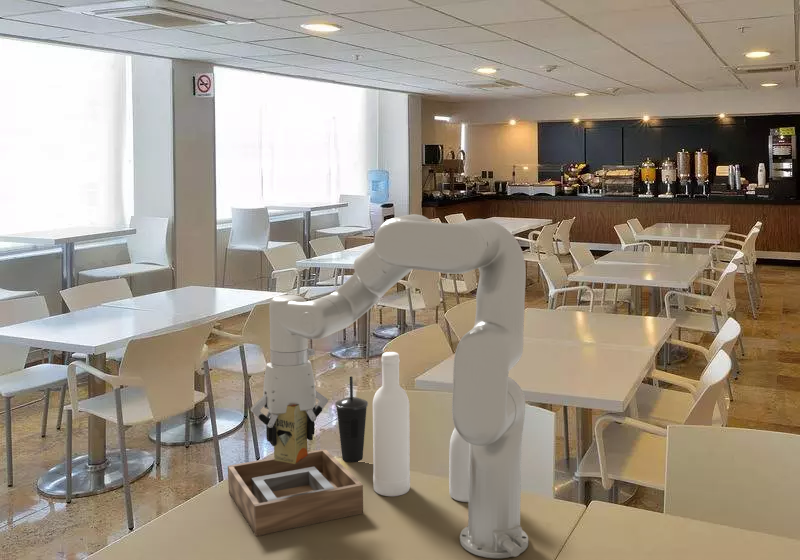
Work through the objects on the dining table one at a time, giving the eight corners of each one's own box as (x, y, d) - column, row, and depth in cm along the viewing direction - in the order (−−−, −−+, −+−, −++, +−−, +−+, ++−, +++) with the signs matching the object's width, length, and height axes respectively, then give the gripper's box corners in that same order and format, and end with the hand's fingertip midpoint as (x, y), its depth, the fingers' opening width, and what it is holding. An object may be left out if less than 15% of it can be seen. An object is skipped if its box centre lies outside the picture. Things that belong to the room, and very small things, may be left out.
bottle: (367, 493, 169) (365, 356, 164) (382, 479, 176) (381, 347, 171) (401, 499, 166) (400, 359, 161) (415, 485, 173) (415, 351, 168)
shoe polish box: (295, 464, 160) (294, 406, 158) (274, 460, 162) (273, 403, 160) (307, 455, 164) (306, 399, 163) (287, 451, 166) (286, 396, 164)
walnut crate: (363, 513, 159) (362, 484, 158) (256, 536, 150) (255, 506, 149) (325, 474, 179) (325, 448, 178) (228, 492, 170) (227, 465, 169)
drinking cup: (374, 456, 189) (373, 375, 186) (356, 467, 183) (355, 383, 180) (348, 450, 193) (347, 370, 190) (330, 460, 187) (328, 378, 184)
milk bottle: (473, 506, 162) (474, 412, 159) (442, 497, 167) (442, 405, 163) (492, 493, 168) (493, 402, 165) (461, 484, 173) (462, 396, 170)
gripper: (323, 348, 167) (324, 429, 170) (242, 357, 159) (244, 441, 162) (336, 356, 160) (336, 440, 163) (251, 366, 153) (254, 454, 156)
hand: (290, 440), depth 163 cm, fingers closed on shoe polish box, 7 cm apart
